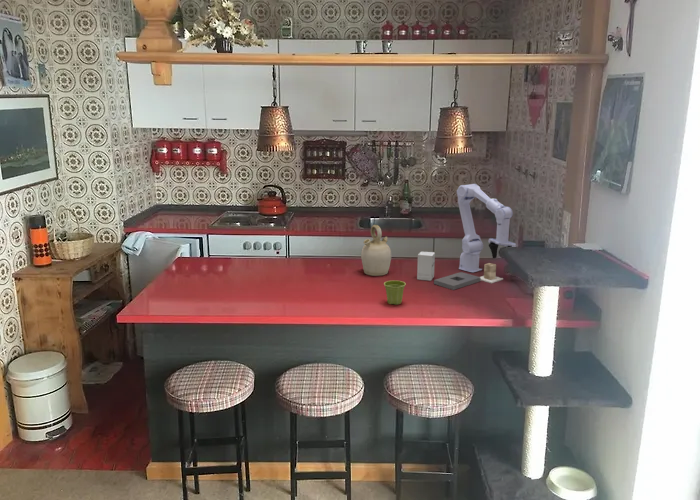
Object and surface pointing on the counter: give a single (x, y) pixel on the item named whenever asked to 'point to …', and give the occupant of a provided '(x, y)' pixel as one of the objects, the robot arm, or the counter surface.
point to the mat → (491, 280)
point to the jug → (376, 254)
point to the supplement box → (425, 265)
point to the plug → (489, 271)
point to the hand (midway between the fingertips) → (501, 259)
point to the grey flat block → (461, 278)
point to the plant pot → (394, 291)
